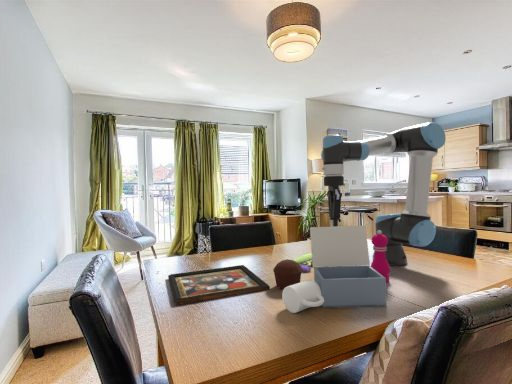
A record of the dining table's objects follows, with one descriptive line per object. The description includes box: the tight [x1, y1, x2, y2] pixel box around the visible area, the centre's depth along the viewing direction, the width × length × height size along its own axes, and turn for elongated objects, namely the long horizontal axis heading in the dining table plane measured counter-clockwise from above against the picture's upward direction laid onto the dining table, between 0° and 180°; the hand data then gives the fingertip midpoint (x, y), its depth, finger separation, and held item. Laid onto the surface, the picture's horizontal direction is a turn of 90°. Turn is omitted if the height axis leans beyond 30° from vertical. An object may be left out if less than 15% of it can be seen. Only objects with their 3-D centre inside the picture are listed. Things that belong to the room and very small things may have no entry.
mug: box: [281, 279, 324, 314], centre depth 91 cm, size 12×10×8 cm
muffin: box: [272, 259, 303, 291], centre depth 112 cm, size 12×11×10 cm
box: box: [313, 265, 387, 309], centre depth 98 cm, size 20×14×9 cm
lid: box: [309, 225, 371, 268], centre depth 107 cm, size 21×14×1 cm
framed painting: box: [167, 264, 271, 307], centre depth 118 cm, size 38×35×3 cm
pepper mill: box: [370, 230, 391, 283], centre depth 115 cm, size 7×7×20 cm
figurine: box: [286, 252, 312, 273], centre depth 139 cm, size 18×27×6 cm
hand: (334, 236), depth 113 cm, fingers closed
